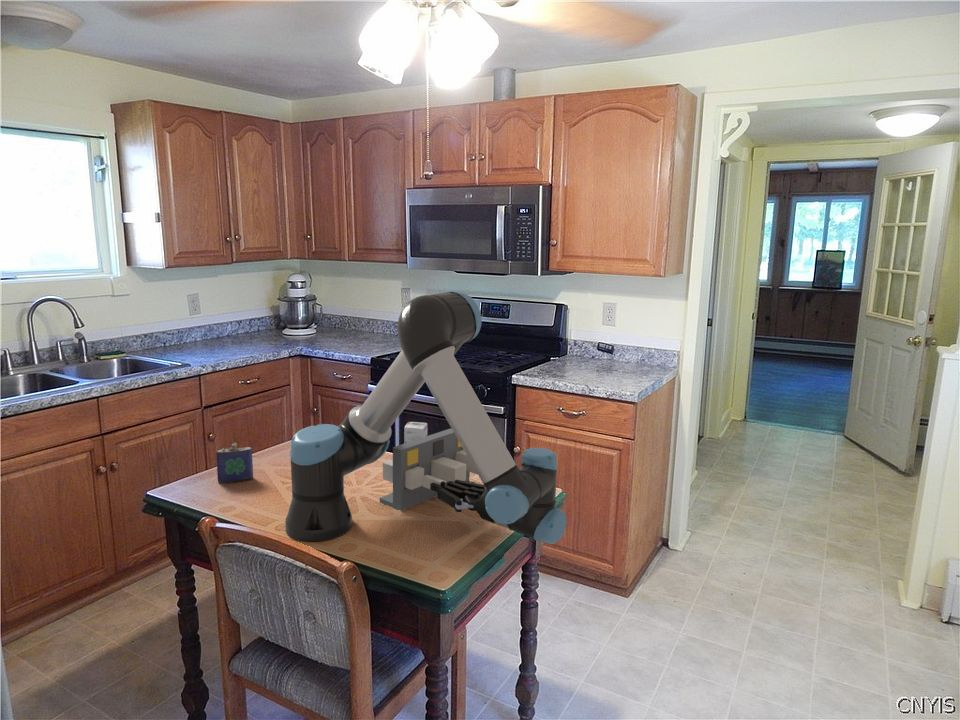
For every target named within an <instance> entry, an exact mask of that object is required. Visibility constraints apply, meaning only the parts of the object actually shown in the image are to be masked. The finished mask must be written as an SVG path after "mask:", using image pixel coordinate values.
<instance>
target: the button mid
mask: <svg viewBox="0 0 960 720" xmlns="http://www.w3.org/2000/svg"><path fill="white" fill-rule="evenodd" d="M431 476H432V477H435V478H438V479H441V480H444V481H447V482H449V481H452V482H455V480H461V481H466V464H464V463H461V462H458V461H455V460H452V459H449V458H446V457H442V456H440V457H438V458H435V459H432V460H431Z"/></svg>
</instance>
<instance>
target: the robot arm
mask: <svg viewBox="0 0 960 720" xmlns="http://www.w3.org/2000/svg"><path fill="white" fill-rule="evenodd" d="M482 322H483V321H482V313H481V309H480V307H479V305H478V303H477V302H476V301H475V300H474V299H473V297H471V296H470V295H468V294H466V293H464V292H462V291H453V290H450V291H446V292H441V293H440V292H439V293H434V294H425V295H420V296H416V297H414V298H412V299H411V300H409V301H407V303H406V304H405V305H404V307H403V308H402V309H401V311H400V314H399V317H398V320H397V336H398V341H399V343H400V348H401V350H400V352H399V354H398V355H397V356H396V358H395V359H394V360H393V362H392V363H391V365H390V366H389V367H388V369H387V370H386V372H385V373H384V374H383V376H382V377H381V378H380V380H379V381H378V383H377V384H376V386H375V387H374V388H373V390H372V391H371V392H370V394H369V395H368V396H367V398H366V400H365V401H364V402H363V404H362V405H357V406H355V407H353V408H351V409H350V411H349V413H347V415H346V416H345V418H344V419H343V421H342V422H341V423H340V424H338V425H335V424H331V423H330V424H329V423H319V424H316V425H310V426H306V427H305V428H302V429H300V430H298V431H296V433H295V434H294V435H293V437H292V438H291V441H290V449H289V450H290V451H289V458H290V474H291V491H292V492H291V493H292V495H291V496H292V497H291V501H290V504H289V507H288V511H287V515H286V517H285V521H284V522H285V525H284V526H285V533H286V534H287V535H288V536H289V537H290V538H292V539H295V540H299V541H303V542H322V541H328V540H332V539H335V538H339V537H340V536H343V535H344V534H346V533H348V532H349V531H350V529H351V528H352V526H353V515H352V511H351V510H350V507H349V503H348V501H347V498H346V496H345V491H344V490H345V487H344V486H345V485H344V484H345V483H344V482H345V481H344V477H345V476H346V475H349V474H350V473H353V472H354V471H356V470H358V469H361V468H362V467H364V466H365V467H366V466H367V465H369V464H373V463H374V462H376V461H378V460H379V459H381V457H382V456H384V454H385V453H386V452H387V451H388V449H389V447H390V443H391V442H390V441H391V440H390V438H391V436H392V428H391V427H392V426H393V424H394V423H395V421H396V420H397V419H398V417H399V416H400V415H401V414H402V413H403V411H404V410H405V409H406V408H407V406H408V405H409V404H410V403H411V400H412V399H414V397H415V395H416V394H417V393H418V391H419V390H420V389H421V388H422V387H423V385H424V384H426V386H427V387H428V390H429V391H430V393H431V395H432V397H433V399H434V400H435V402H436V403H437V405H438V406H439V409H440V410H441V413H442V414H443V417H445V419H446V422H447V423H448V424H449V426H450V429H451V428H452V430H453V431H454V433H455V435H456V437H457V438H458V440H459V442H460V444H461V445H462V447H463V449H464V451H465V452H466V454H467V456H468V458H469V459H470V461H471V463H472V465H473V466H474V468H475V470H476V472H477V473H478V475H477V476H478V478H479V479H480V480H481V482H482V484H480V483H476V482H475V483H474V482H470V481H469V482H466V481H461V480H455V482H452V481H449V482H447V481H444V480H441V479H438V478H435V477H432V476H429V475H425V476H423V487H425V488H428V489H431V490H433V491H436V492H437V496H436V497H437V499H438V500H440V501H442V502H443V503H444V504H446V505H448V506H449V507H451V508H453V509H454V510H455V512H456V513H462V511H463V510H464V509H467V510H469V511H471V512H477V514H478V515H479V517H480V518H481V519H482V520H484V521H487V522H489V523H492V524H495V525H498V526H500V527H503V528H504V529H505V528H506V529H508V530H509V531H513V532H516V533H518V534H521V535H523V536H525V537H529V538H531V539H533V540H535V541H538V542H541V543H545V544H549V545H553V544H556V543H557V542H559V541H560V540H561V539H562V538H563V536H564V534H565V531H566V528H567V524H568V523H567V520H568V519H567V517H566V513H565V512H564V510H562V509H560V508H558V507H557V506H556V503H557V502H556V491H557V476H558V470H559V468H558V456H557V453H555V452H554V451H553V450H551V449H548V448H545V447H544V448H543V447H531V448H527V449H525V450H524V451H523V452H522V454H521V460H520V464H521V465H520V468H519V467H518V465H517V463H516V462H515V460H514V458H513V457H512V455H511V453H510V451H509V450H508V448H507V446H506V444H505V443H504V441H503V438H501V435H500V434H499V432H498V430H497V428H496V427H495V425H494V423H493V422H492V419H490V417H489V415H488V412H487V411H486V410H485V409H486V408H485V407H484V406H483V404H482V403H481V401H480V399H479V398H478V395H477V394H476V392H475V391H474V388H473V387H472V385H471V384H470V382H469V380H468V378H467V376H466V374H465V373H464V371H463V369H462V368H461V365H460V364H459V363H458V361H457V359H456V357H455V354H456V353H457V352H458V351H459V349H460V348H461V347H462V345H463V344H467V343H470V342H471V341H472V340H473V339H475V338H476V337H477V336H478V335H479V333H480V331H481V327H482Z"/></svg>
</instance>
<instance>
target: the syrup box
mask: <svg viewBox="0 0 960 720" xmlns="http://www.w3.org/2000/svg"><path fill="white" fill-rule="evenodd" d="M403 429H404V432H403V435H404V436H403V438H404V442H403V444H405V443H408V442H411V441H414V440H417V439H420V438H423V437H426V436H428V423H427V422H419V421H418V422H417V421H408V422H407V423H406V424H405V425H404V428H403Z"/></svg>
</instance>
